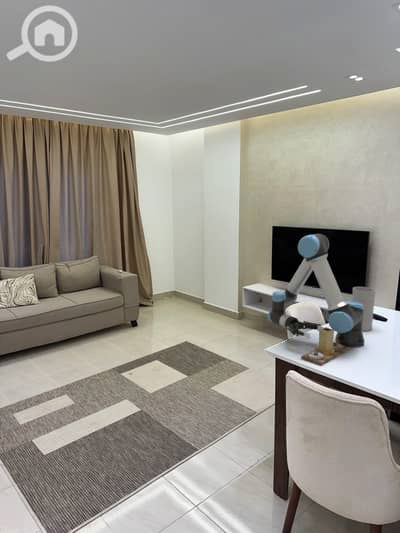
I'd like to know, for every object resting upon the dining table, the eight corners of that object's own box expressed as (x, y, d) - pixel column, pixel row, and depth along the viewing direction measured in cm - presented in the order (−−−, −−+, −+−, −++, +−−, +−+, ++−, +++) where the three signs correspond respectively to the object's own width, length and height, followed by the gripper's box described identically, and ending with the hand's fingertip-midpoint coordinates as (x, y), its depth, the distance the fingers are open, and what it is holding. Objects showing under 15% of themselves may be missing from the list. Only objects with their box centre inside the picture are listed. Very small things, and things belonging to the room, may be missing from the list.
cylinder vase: (352, 323, 240) (355, 285, 236) (373, 327, 233) (377, 288, 229) (347, 328, 230) (350, 289, 226) (369, 332, 223) (372, 292, 219)
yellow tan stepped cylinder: (324, 347, 196) (325, 325, 194) (338, 353, 189) (339, 330, 187) (312, 350, 192) (314, 328, 190) (326, 356, 184) (327, 333, 182)
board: (328, 344, 204) (329, 331, 203) (348, 350, 196) (349, 337, 195) (301, 358, 185) (301, 344, 184) (321, 365, 177) (322, 351, 176)
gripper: (304, 325, 218) (334, 336, 200) (272, 332, 205) (300, 345, 187) (305, 313, 217) (335, 323, 199) (273, 319, 204) (301, 330, 186)
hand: (318, 333), depth 193 cm, fingers open, 13 cm apart
